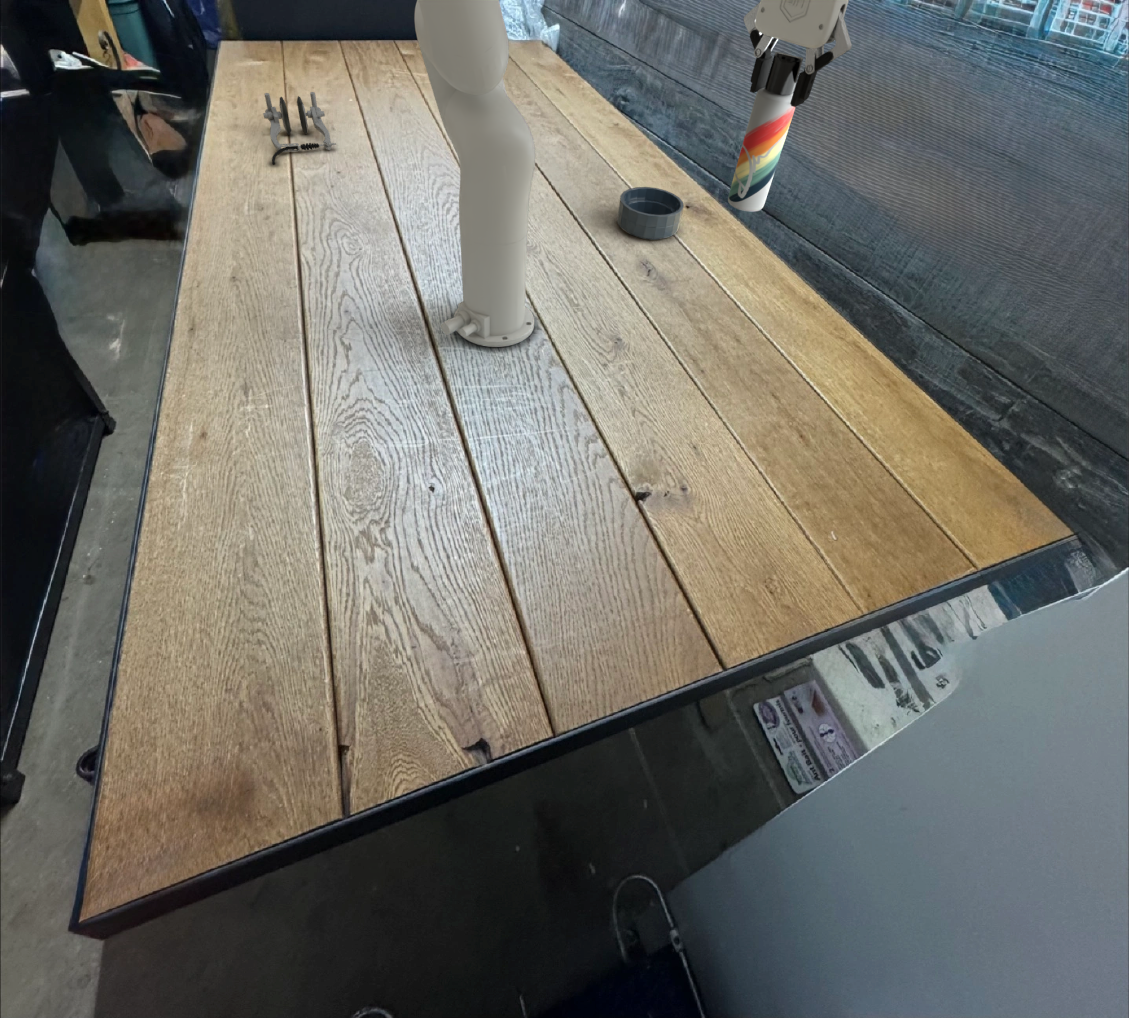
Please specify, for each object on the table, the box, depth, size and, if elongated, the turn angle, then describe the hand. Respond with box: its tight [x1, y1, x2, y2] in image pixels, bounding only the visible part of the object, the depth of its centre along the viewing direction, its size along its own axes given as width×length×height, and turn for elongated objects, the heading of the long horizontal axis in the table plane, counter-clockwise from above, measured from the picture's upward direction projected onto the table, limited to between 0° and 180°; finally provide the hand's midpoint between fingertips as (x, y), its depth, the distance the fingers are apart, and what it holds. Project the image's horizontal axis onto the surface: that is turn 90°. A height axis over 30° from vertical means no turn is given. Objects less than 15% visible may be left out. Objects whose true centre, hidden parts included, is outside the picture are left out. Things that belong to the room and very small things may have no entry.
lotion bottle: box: [727, 51, 804, 212], centre depth 94 cm, size 6×6×20 cm
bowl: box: [616, 186, 684, 241], centre depth 127 cm, size 12×12×5 cm
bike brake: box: [262, 91, 337, 166], centre depth 139 cm, size 14×7×20 cm
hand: (777, 95), depth 90 cm, fingers closed on lotion bottle, 5 cm apart
